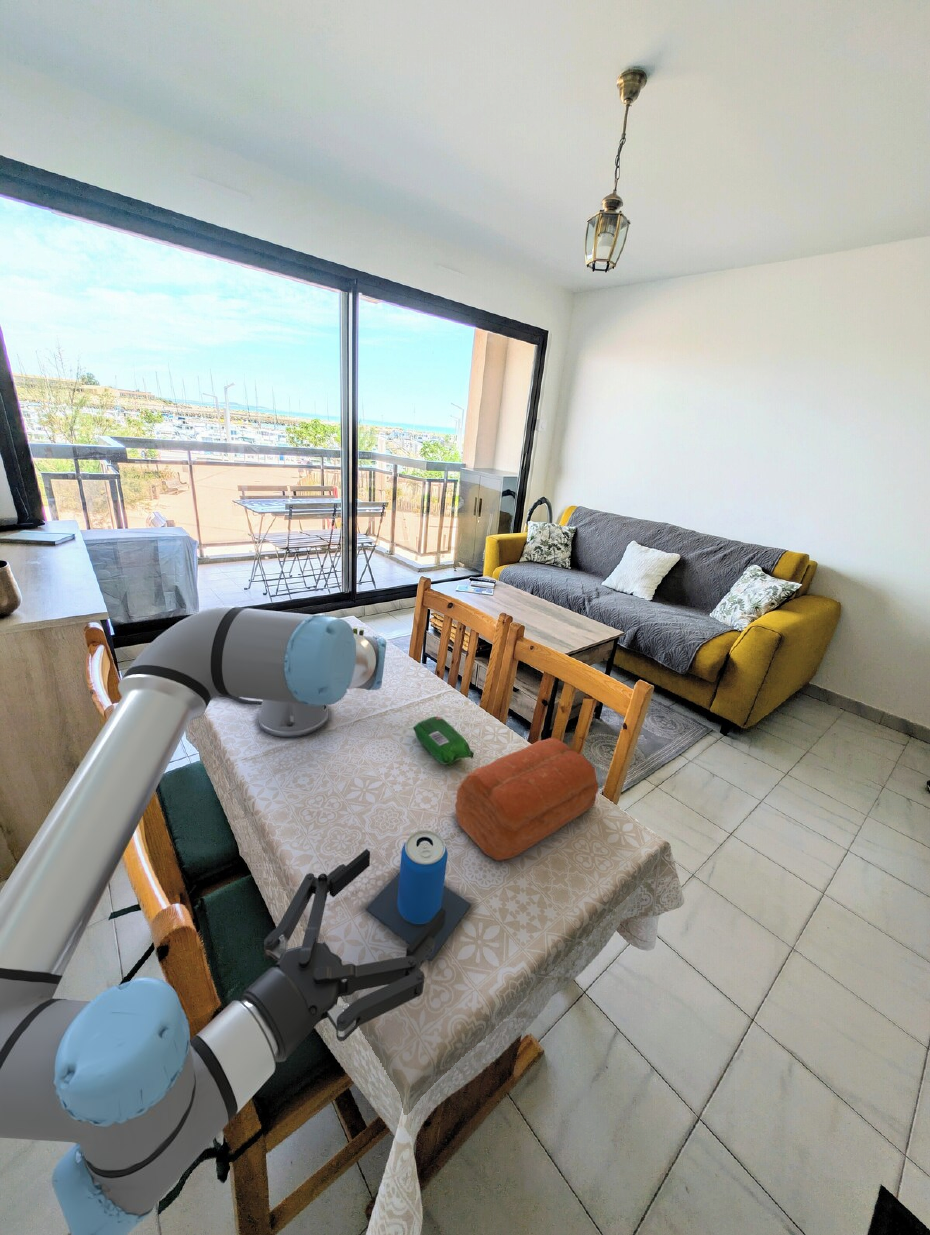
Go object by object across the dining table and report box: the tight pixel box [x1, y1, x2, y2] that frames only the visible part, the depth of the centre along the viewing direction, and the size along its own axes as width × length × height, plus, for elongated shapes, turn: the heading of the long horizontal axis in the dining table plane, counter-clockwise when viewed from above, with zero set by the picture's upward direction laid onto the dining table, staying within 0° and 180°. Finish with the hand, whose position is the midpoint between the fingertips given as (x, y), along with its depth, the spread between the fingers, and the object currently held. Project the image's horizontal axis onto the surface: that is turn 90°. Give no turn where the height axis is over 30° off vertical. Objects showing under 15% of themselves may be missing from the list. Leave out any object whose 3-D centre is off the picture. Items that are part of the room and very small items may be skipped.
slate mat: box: [365, 871, 472, 962], centre depth 70 cm, size 12×10×1 cm
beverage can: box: [398, 829, 449, 924], centre depth 67 cm, size 6×6×12 cm
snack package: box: [412, 716, 475, 766], centre depth 103 cm, size 7×16×5 cm, turn 35°
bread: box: [454, 737, 599, 862], centre depth 88 cm, size 16×27×11 cm, turn 128°
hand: (403, 885), depth 63 cm, fingers open, 13 cm apart
